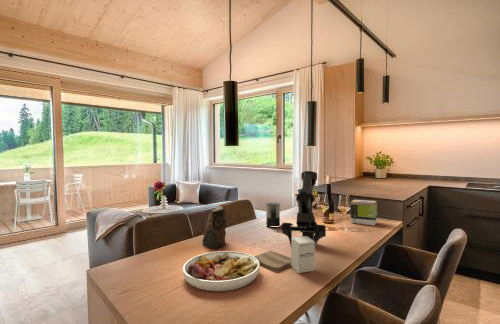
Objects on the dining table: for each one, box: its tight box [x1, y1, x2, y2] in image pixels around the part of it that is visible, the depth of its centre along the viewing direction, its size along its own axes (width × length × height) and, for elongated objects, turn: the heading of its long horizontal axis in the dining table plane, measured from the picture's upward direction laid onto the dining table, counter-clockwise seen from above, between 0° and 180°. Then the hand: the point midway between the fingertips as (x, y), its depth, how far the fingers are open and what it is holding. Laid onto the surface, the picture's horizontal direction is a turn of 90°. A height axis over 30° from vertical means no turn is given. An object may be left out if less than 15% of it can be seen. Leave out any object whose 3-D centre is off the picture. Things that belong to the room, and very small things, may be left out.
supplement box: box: [290, 235, 316, 274], centre depth 118 cm, size 7×7×13 cm
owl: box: [201, 205, 227, 251], centre depth 149 cm, size 13×13×20 cm
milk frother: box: [265, 202, 294, 227], centre depth 184 cm, size 14×16×15 cm
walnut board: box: [253, 250, 292, 273], centre depth 127 cm, size 13×16×2 cm
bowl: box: [182, 250, 261, 292], centre depth 114 cm, size 30×30×8 cm
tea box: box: [350, 199, 378, 226], centre depth 190 cm, size 15×10×15 cm, turn 58°
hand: (302, 247), depth 119 cm, fingers open, 9 cm apart
